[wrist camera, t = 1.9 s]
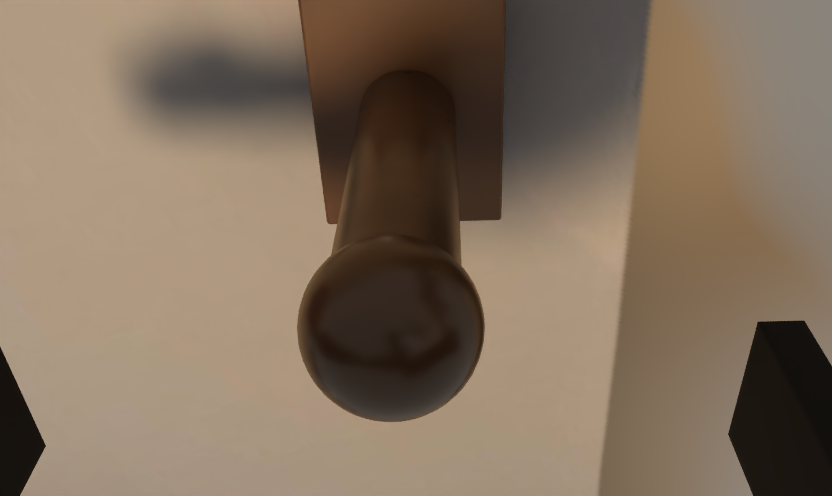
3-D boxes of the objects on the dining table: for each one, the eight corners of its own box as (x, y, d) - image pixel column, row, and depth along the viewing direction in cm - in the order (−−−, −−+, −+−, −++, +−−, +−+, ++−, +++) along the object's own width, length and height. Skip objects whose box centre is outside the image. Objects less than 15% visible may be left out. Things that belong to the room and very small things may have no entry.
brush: (315, -52, 24) (181, 214, 12) (497, -59, 24) (561, 204, 11) (339, 165, 29) (261, 529, 16) (494, 160, 28) (538, 527, 16)
